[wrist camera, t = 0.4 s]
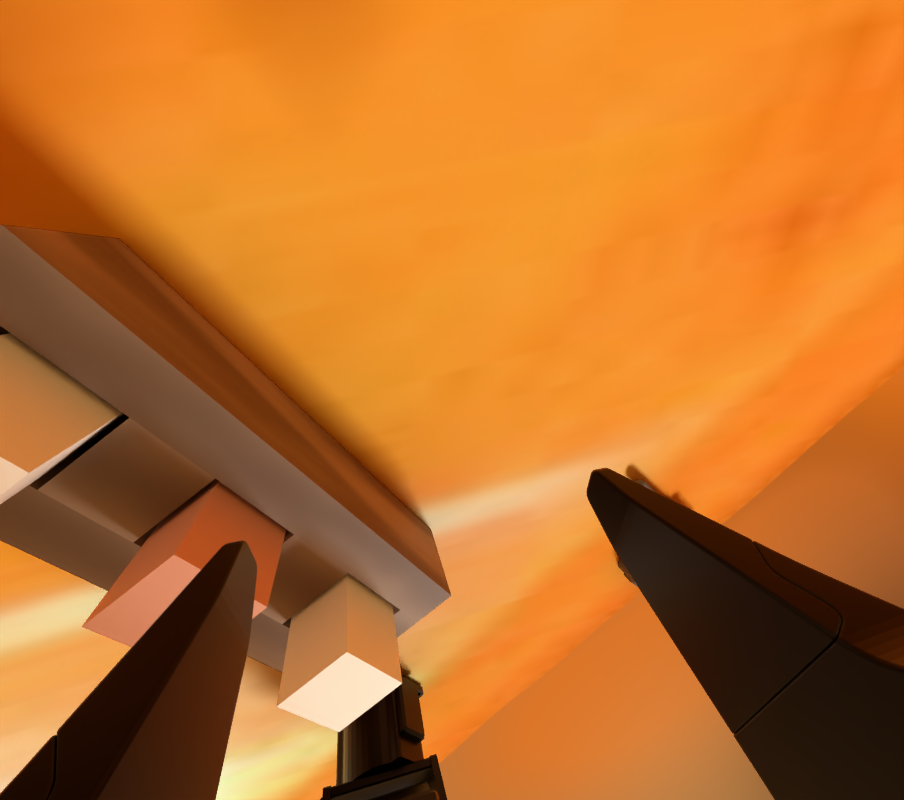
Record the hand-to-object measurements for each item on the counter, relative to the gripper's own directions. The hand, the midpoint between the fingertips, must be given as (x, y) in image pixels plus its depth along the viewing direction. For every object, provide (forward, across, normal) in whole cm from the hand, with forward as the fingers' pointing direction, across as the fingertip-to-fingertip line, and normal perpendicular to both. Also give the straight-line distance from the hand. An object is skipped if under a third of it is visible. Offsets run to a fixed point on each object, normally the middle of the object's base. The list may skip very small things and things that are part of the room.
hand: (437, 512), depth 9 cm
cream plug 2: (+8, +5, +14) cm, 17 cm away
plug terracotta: (+9, +9, +7) cm, 14 cm away
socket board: (+13, +9, +8) cm, 18 cm away
